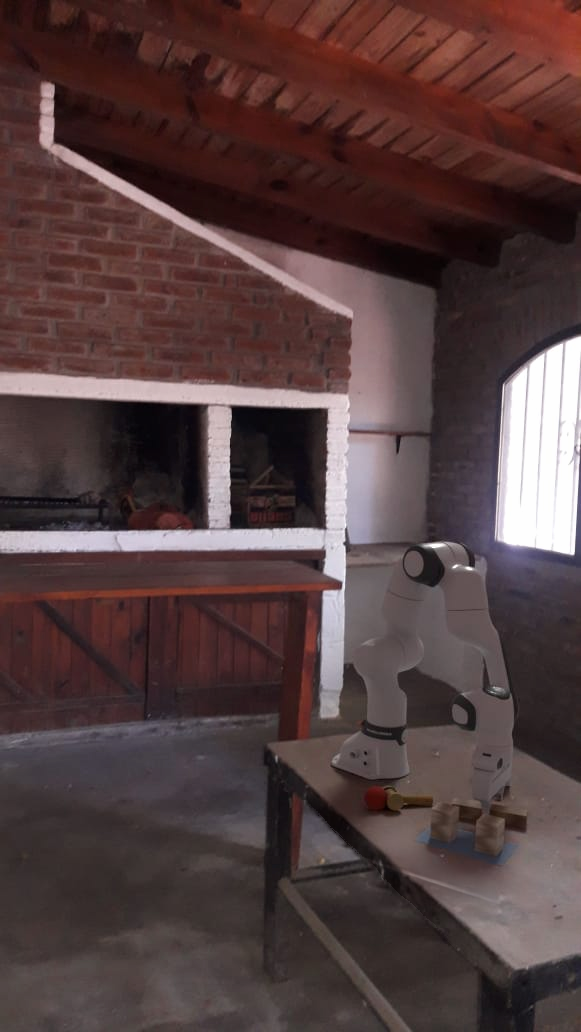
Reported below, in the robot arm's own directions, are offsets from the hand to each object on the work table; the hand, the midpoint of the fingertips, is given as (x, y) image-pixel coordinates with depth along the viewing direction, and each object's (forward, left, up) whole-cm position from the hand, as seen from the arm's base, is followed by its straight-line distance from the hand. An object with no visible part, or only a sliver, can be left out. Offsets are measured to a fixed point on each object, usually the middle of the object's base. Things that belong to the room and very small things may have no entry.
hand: (492, 807), depth 208 cm
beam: (-1, 0, -4) cm, 4 cm away
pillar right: (+5, -16, -3) cm, 17 cm away
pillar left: (-6, -16, -3) cm, 18 cm away
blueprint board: (-1, -16, -4) cm, 17 cm away
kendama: (-23, -6, -4) cm, 24 cm away
